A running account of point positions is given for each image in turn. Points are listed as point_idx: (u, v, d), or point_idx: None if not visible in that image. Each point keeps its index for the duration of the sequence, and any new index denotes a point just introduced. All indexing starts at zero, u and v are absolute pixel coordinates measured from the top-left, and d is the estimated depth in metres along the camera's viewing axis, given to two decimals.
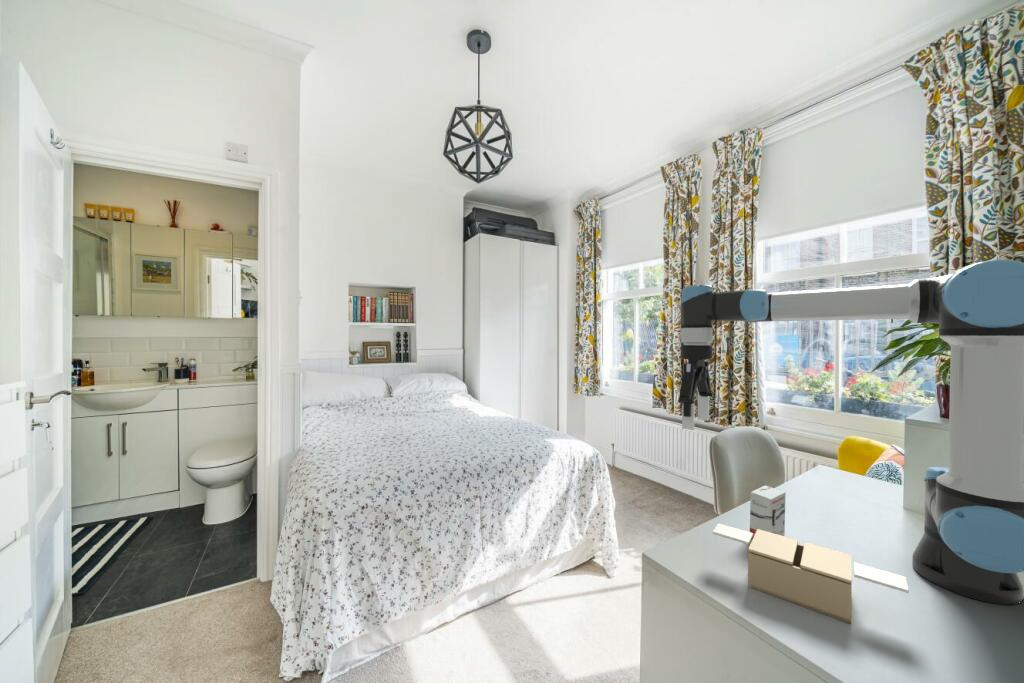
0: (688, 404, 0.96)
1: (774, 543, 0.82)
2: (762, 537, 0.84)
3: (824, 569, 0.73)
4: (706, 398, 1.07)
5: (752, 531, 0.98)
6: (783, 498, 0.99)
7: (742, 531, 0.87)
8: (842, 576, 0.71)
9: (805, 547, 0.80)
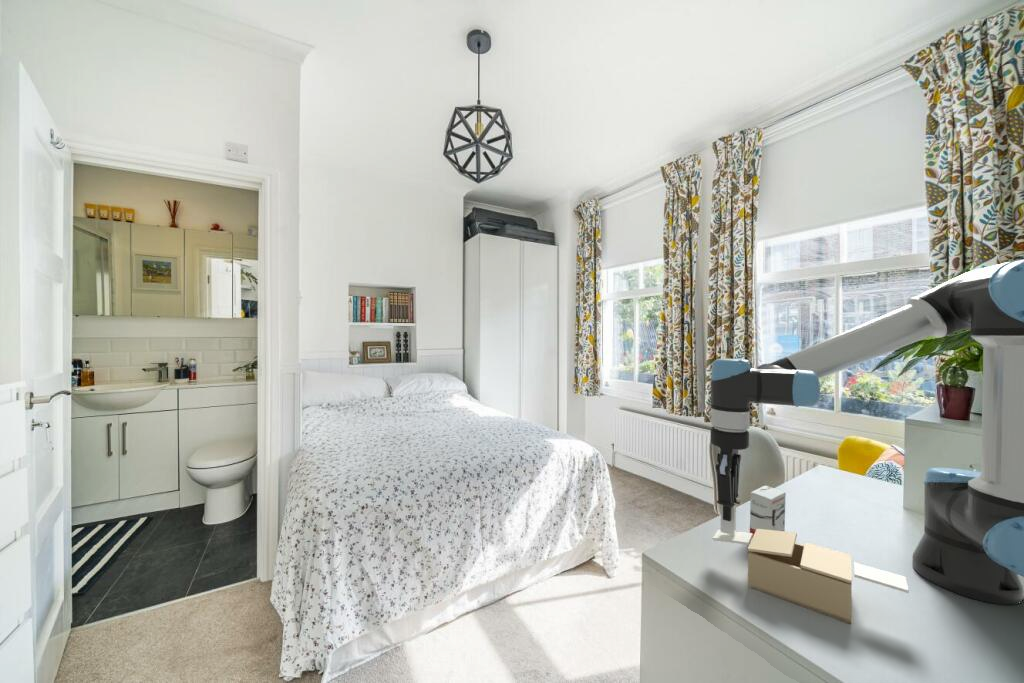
0: (729, 507, 0.85)
1: (773, 539, 0.82)
2: (761, 535, 0.84)
3: (824, 569, 0.73)
4: None
5: (752, 531, 0.98)
6: (783, 498, 0.99)
7: (741, 533, 0.87)
8: (842, 576, 0.71)
9: (805, 547, 0.80)
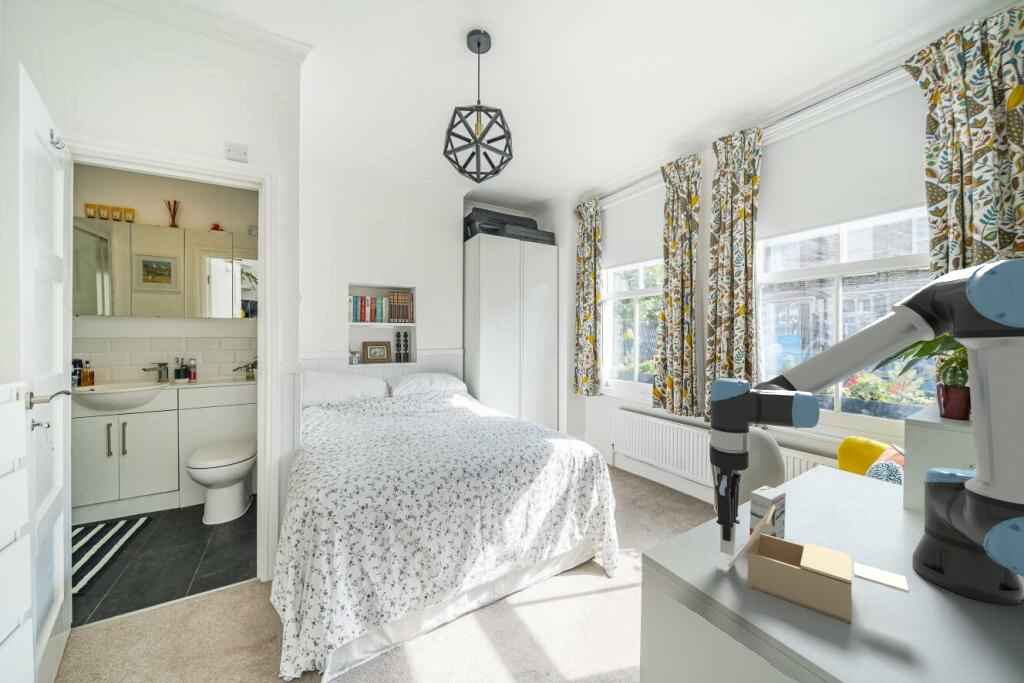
0: (728, 527, 0.85)
1: (760, 524, 0.83)
2: (755, 530, 0.85)
3: (824, 569, 0.73)
4: (732, 526, 0.87)
5: (752, 531, 0.98)
6: (783, 498, 0.99)
7: (745, 542, 0.87)
8: (842, 576, 0.71)
9: (805, 547, 0.80)
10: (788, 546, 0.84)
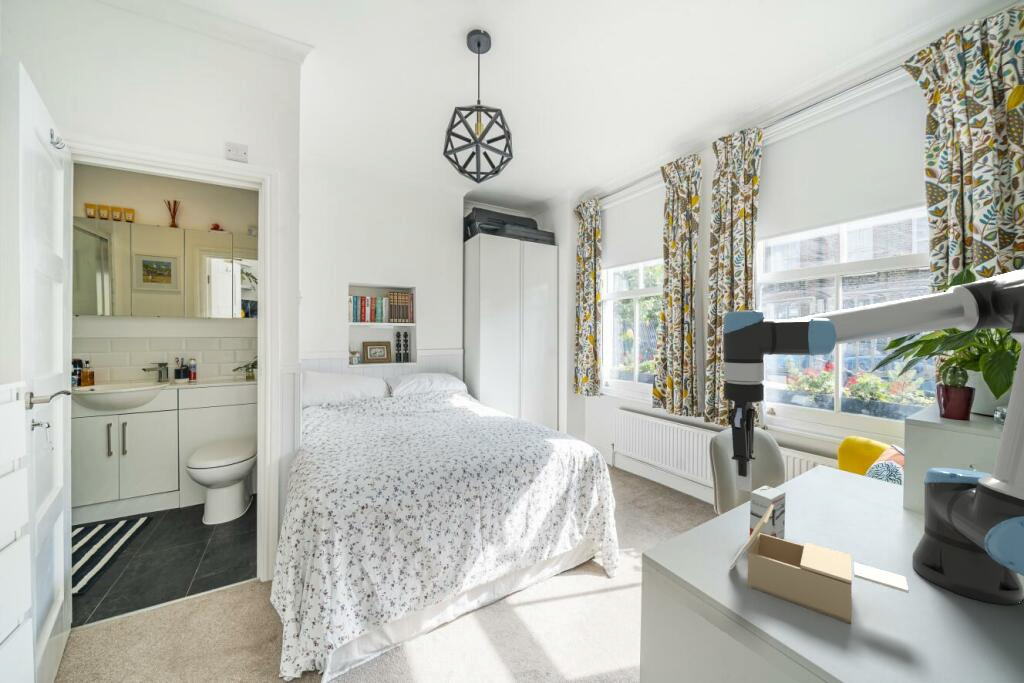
0: (744, 462, 0.83)
1: (759, 524, 0.84)
2: (754, 529, 0.85)
3: (824, 569, 0.73)
4: (748, 462, 0.84)
5: (752, 531, 0.98)
6: (783, 498, 0.99)
7: (745, 542, 0.87)
8: (842, 576, 0.71)
9: (805, 547, 0.80)
10: (788, 546, 0.84)
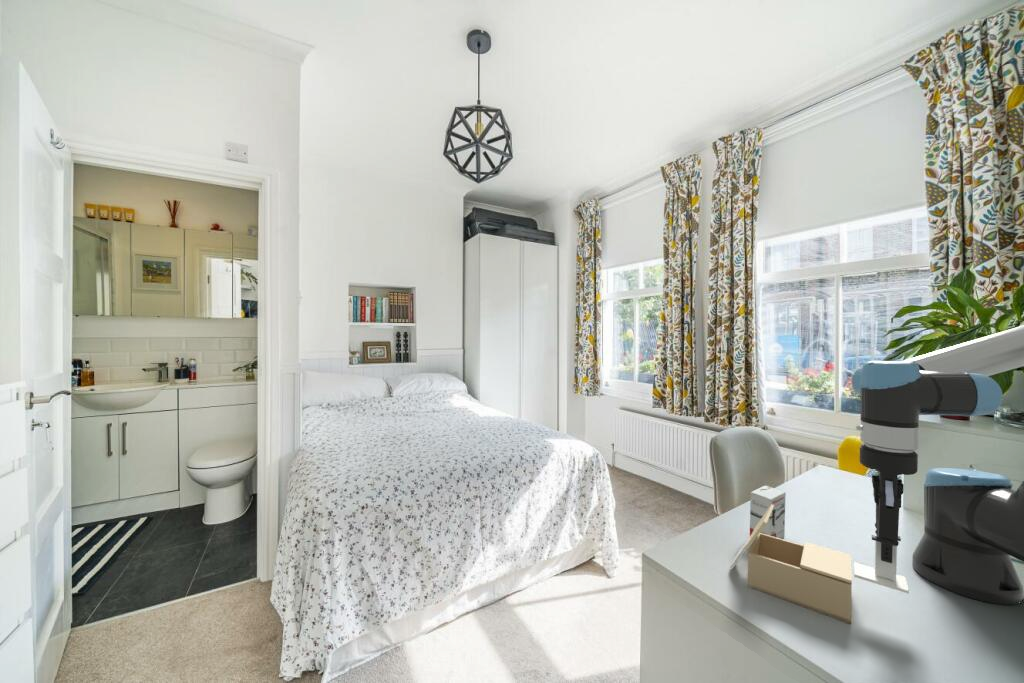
0: (890, 546, 0.69)
1: (759, 524, 0.84)
2: (754, 529, 0.85)
3: (824, 569, 0.73)
4: None
5: (752, 531, 0.98)
6: (783, 498, 0.99)
7: (745, 542, 0.87)
8: (842, 576, 0.71)
9: (805, 547, 0.80)
10: (788, 546, 0.84)
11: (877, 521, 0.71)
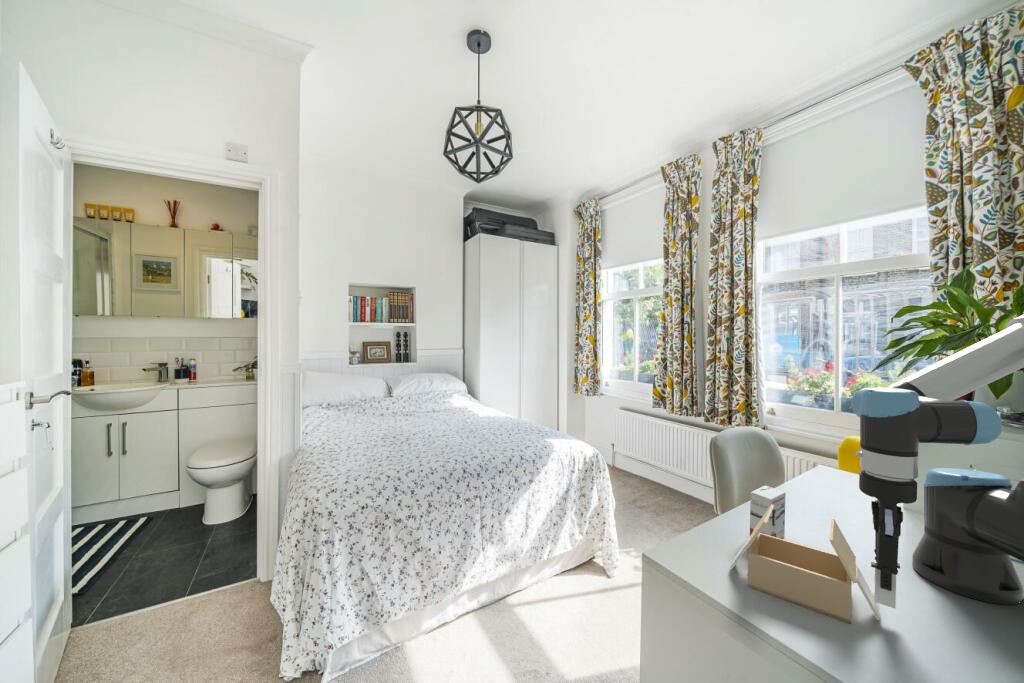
0: (890, 574, 0.69)
1: (759, 524, 0.84)
2: (754, 529, 0.85)
3: (843, 558, 0.71)
4: None
5: (752, 531, 0.98)
6: (783, 498, 0.99)
7: (745, 542, 0.87)
8: (852, 574, 0.70)
9: (834, 524, 0.77)
10: (788, 546, 0.84)
11: (876, 548, 0.72)
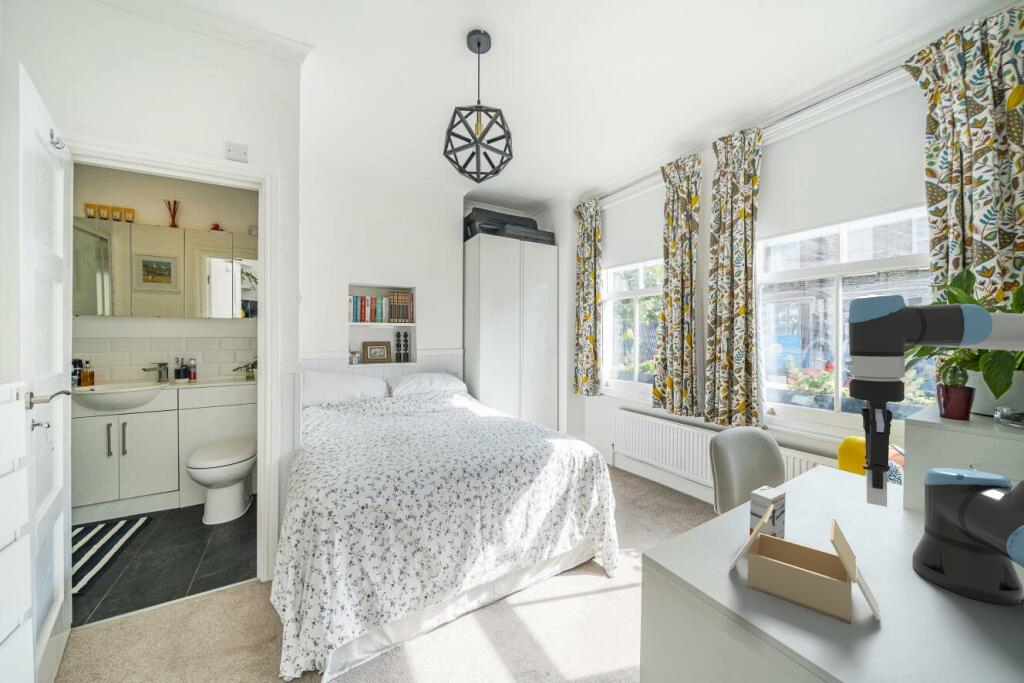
0: (881, 472, 0.71)
1: (759, 524, 0.84)
2: (754, 529, 0.85)
3: (844, 558, 0.71)
4: None
5: (752, 531, 0.98)
6: (783, 498, 0.99)
7: (745, 542, 0.87)
8: (852, 574, 0.70)
9: (835, 524, 0.77)
10: (788, 546, 0.84)
11: (867, 451, 0.74)
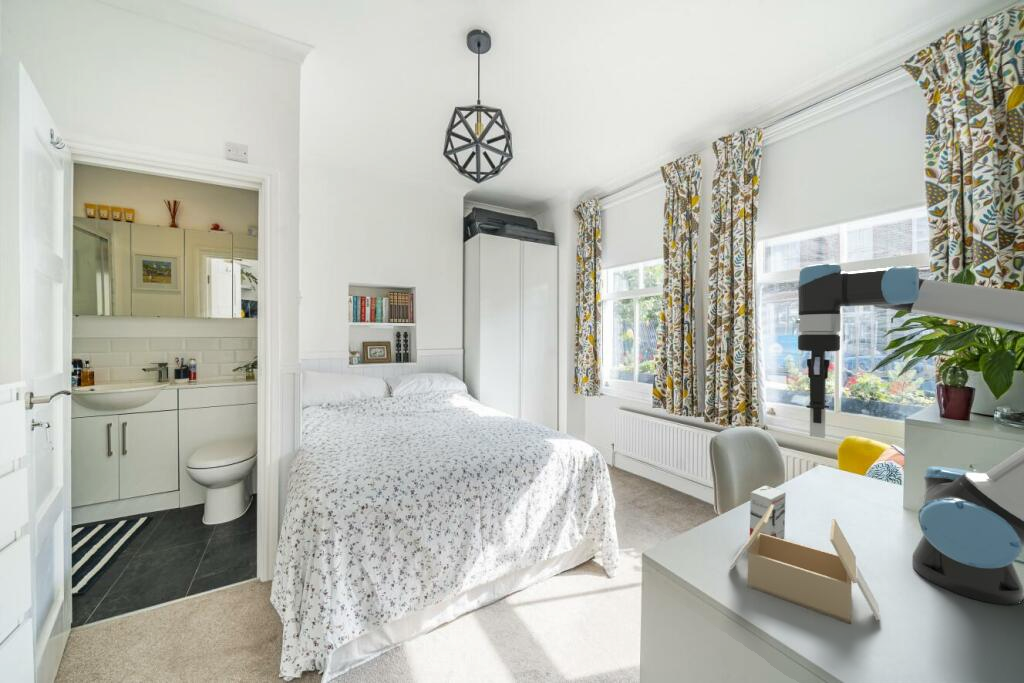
0: (820, 409, 0.87)
1: (759, 524, 0.84)
2: (754, 529, 0.85)
3: (844, 558, 0.71)
4: None
5: (752, 531, 0.98)
6: (783, 498, 0.99)
7: (745, 542, 0.87)
8: (852, 574, 0.70)
9: (835, 524, 0.77)
10: (788, 546, 0.84)
11: None
